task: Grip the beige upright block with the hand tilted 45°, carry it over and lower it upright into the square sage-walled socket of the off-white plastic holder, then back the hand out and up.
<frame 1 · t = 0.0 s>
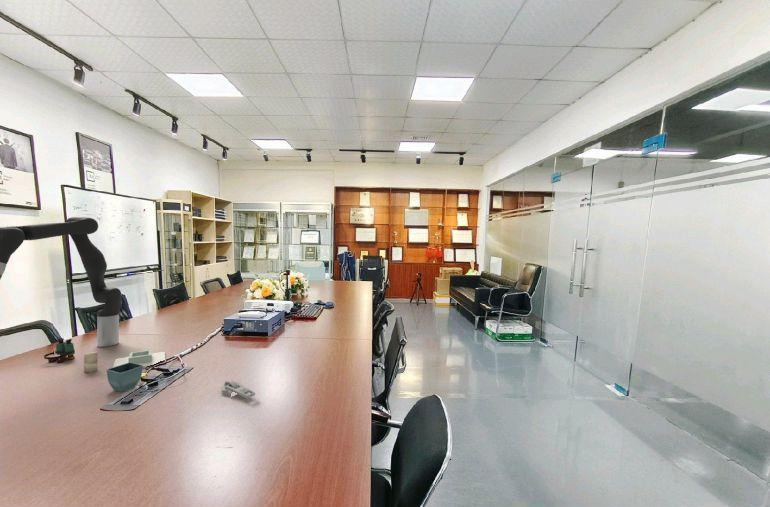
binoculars: (59, 361, 150), on the table
holder: (140, 362, 151), on the table
flower pot: (125, 389, 125), on the table
beige upright block: (90, 370, 140), on the table
zipper pull: (238, 395, 123), on the table
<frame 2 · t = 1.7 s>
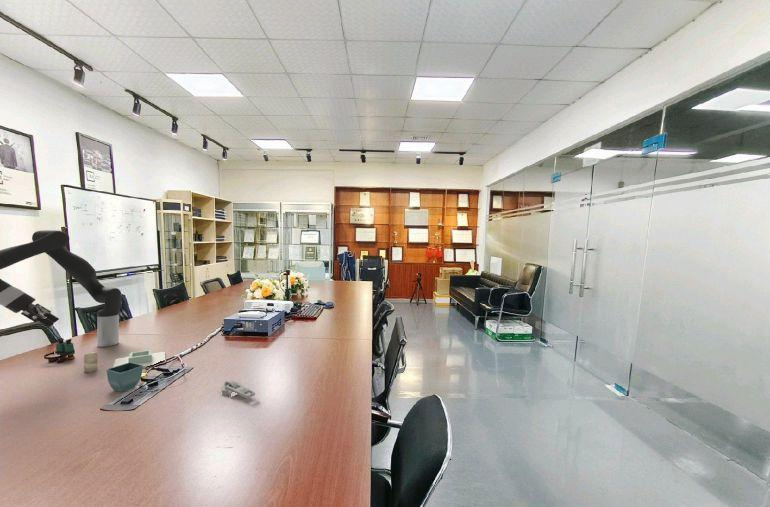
hand: (54, 323, 132), 24 cm above the table, tool tilted 45°, fingers open, 8 cm apart
nothing on the table moved.
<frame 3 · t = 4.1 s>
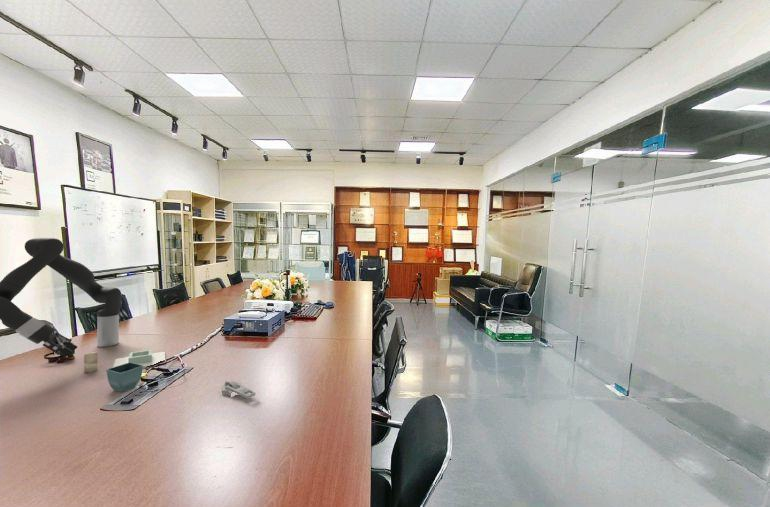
hand: (73, 351, 136), 10 cm above the table, tool tilted 45°, fingers open, 8 cm apart
nothing on the table moved.
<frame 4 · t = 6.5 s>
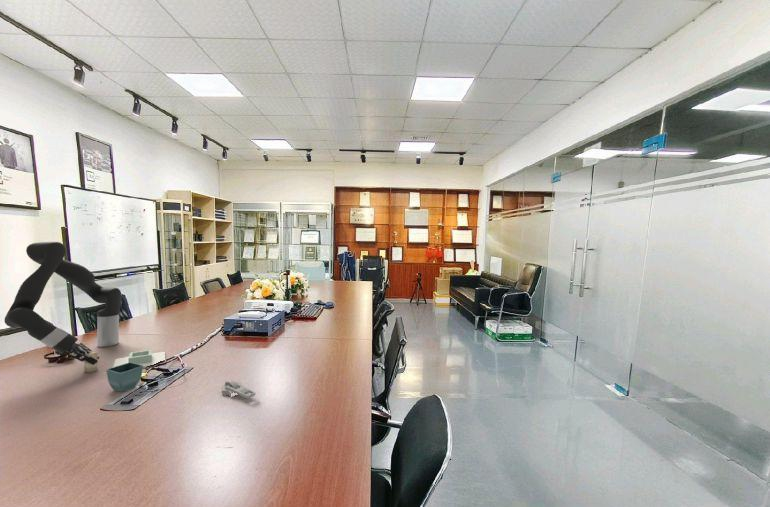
hand: (96, 361, 141), 4 cm above the table, tool tilted 45°, fingers closed on beige upright block, 4 cm apart
beige upright block: (90, 370, 140), on the table, touching gripper
everything else where it was.
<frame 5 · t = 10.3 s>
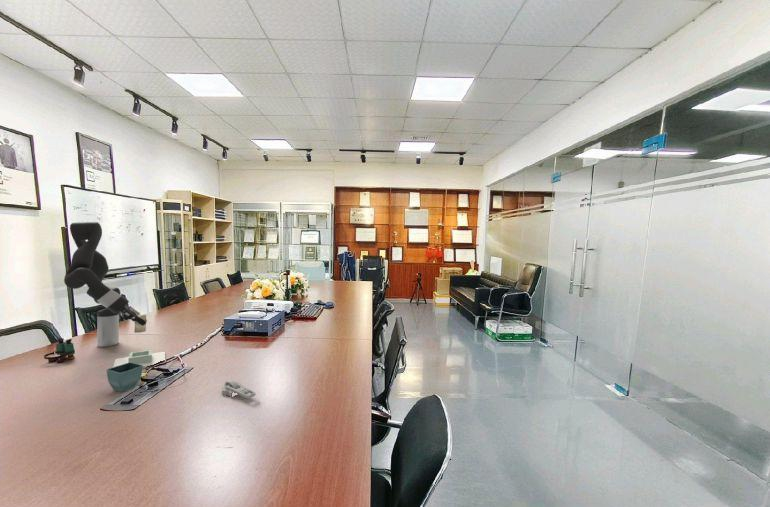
hand: (145, 322, 151), 20 cm above the table, tool tilted 45°, fingers closed on beige upright block, 4 cm apart
beige upright block: (140, 331, 150), point 16 cm above the table, touching gripper
everything else where it was.
when the fingers open (7 cm above the table, at t = 14.0 s): beige upright block drops 1 cm, resting on holder.
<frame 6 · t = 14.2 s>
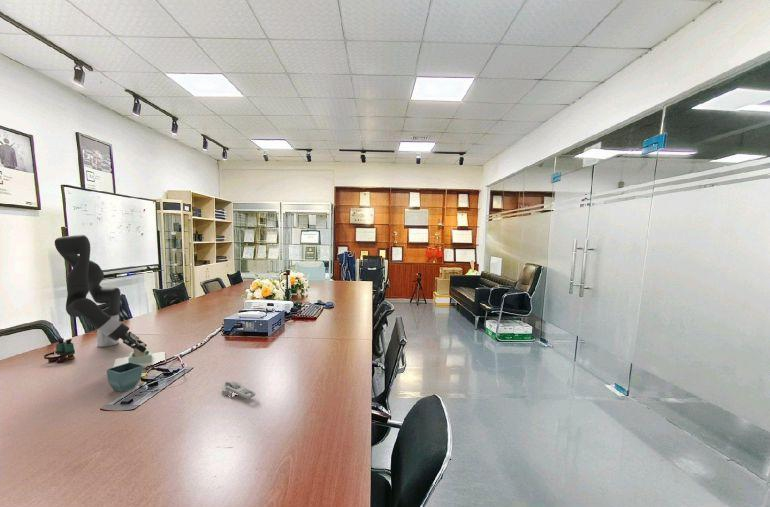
hand: (144, 348, 152), 7 cm above the table, tool tilted 45°, fingers open, 6 cm apart
beige upright block: (140, 360, 151), point 1 cm above the table, touching holder
everything else where it was.
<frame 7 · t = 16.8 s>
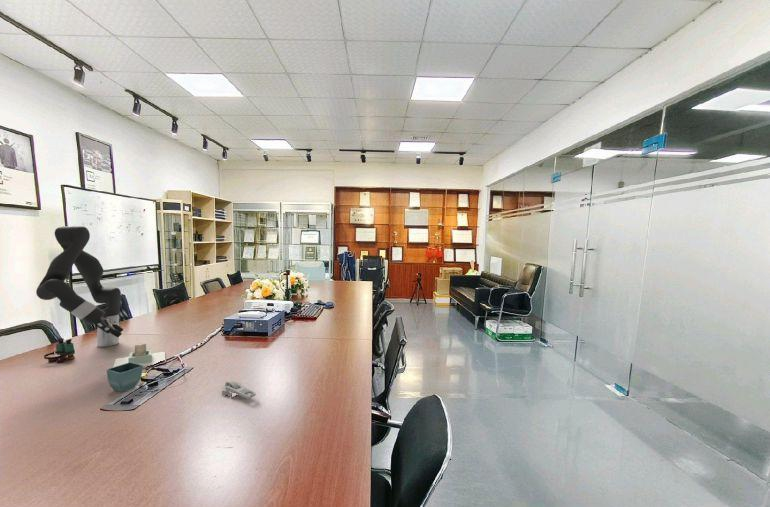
hand: (121, 333, 146), 16 cm above the table, tool tilted 45°, fingers open, 8 cm apart
nothing on the table moved.
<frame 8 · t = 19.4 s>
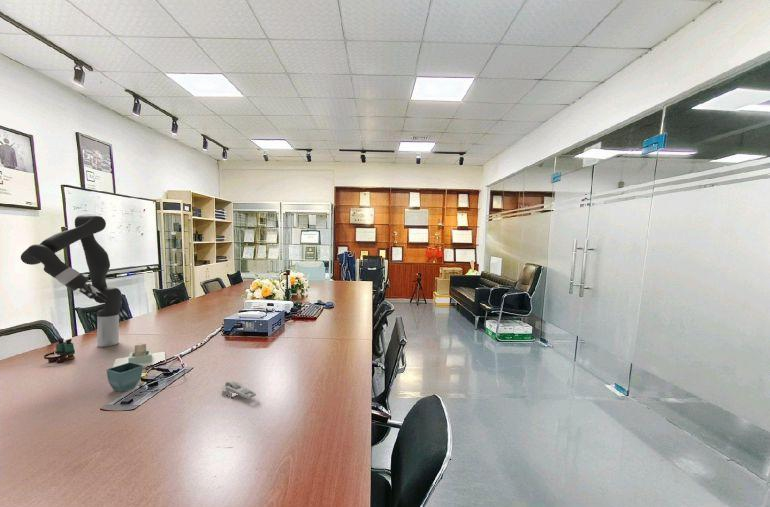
hand: (104, 300, 151), 31 cm above the table, tool tilted 45°, fingers open, 8 cm apart
nothing on the table moved.
at the end: beige upright block 0.1 cm off-centre on the holder, point 1.0 cm above the holder's base; beige upright block tilted 0°; the gripper is holding nothing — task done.
